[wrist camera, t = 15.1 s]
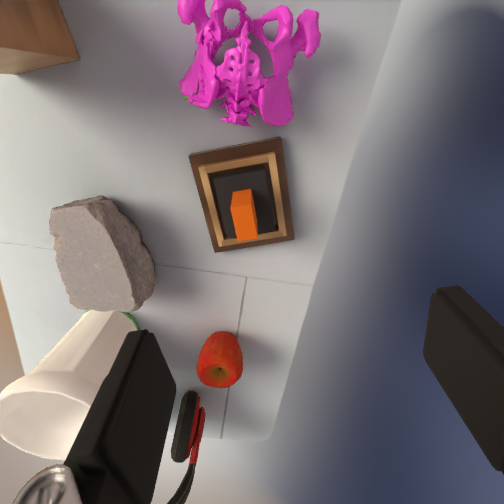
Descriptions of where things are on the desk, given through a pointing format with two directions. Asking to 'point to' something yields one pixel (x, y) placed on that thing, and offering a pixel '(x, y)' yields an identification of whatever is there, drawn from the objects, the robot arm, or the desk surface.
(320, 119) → the desk surface
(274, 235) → the backing board
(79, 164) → the desk surface
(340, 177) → the desk surface
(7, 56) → the wooden block
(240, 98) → the pelvis
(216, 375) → the apple
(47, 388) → the cup
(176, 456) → the headphones
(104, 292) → the decorative stone
